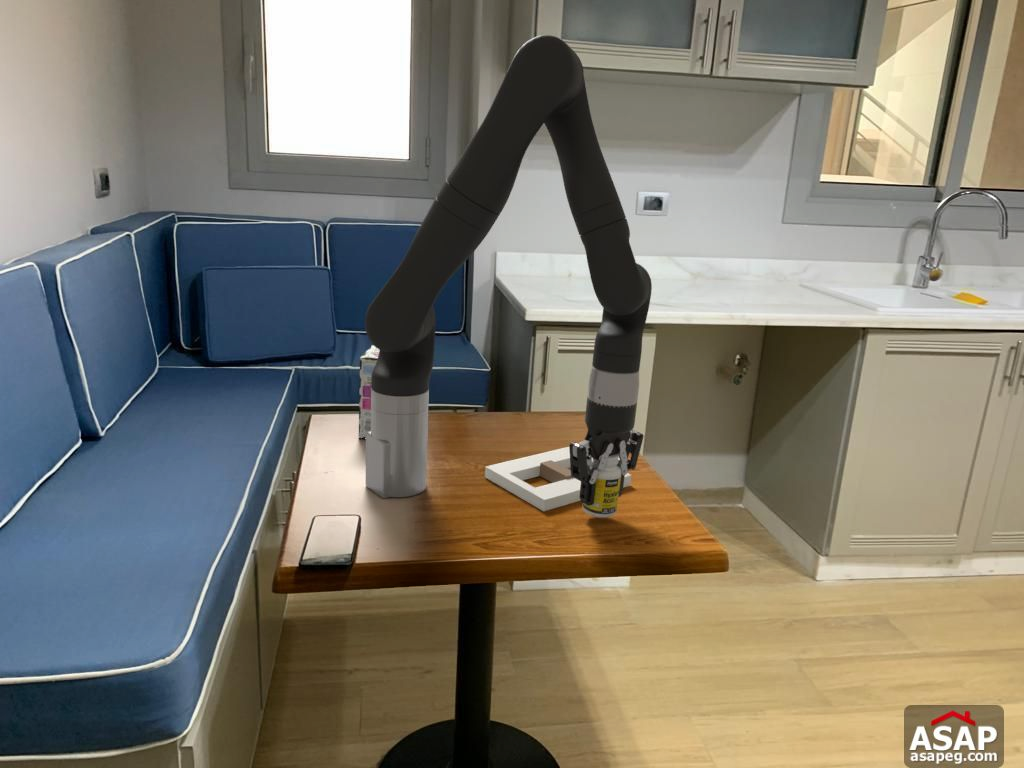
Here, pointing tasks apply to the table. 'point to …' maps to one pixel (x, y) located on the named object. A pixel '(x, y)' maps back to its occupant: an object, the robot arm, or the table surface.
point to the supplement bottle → (606, 489)
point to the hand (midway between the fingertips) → (601, 498)
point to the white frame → (547, 467)
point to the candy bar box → (366, 389)
